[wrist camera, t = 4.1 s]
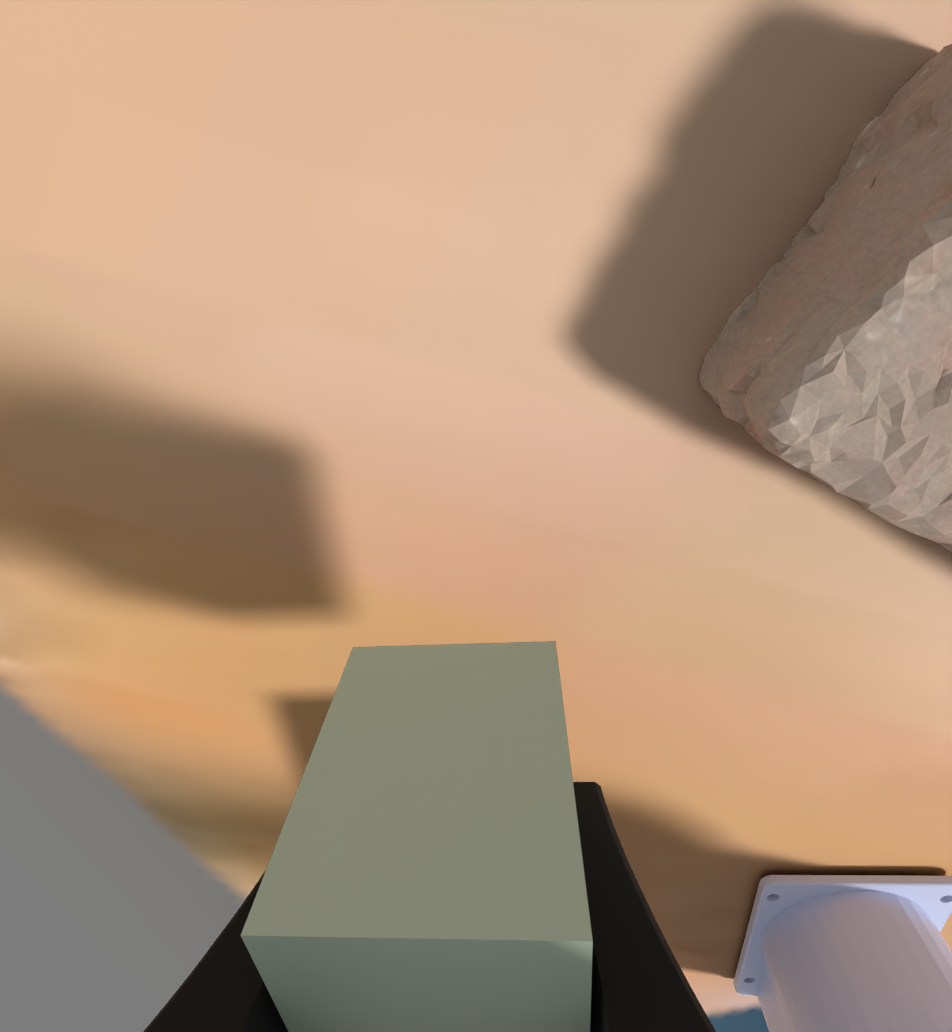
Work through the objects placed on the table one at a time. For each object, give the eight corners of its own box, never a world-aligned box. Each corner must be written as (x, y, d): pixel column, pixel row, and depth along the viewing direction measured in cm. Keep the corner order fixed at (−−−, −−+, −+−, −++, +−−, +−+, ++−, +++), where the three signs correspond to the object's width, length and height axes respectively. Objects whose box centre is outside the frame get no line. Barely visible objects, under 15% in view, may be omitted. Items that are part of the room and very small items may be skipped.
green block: (559, 837, 13) (587, 1147, 8) (396, 837, 13) (340, 1135, 9) (555, 641, 10) (592, 940, 6) (353, 647, 11) (240, 935, 6)
